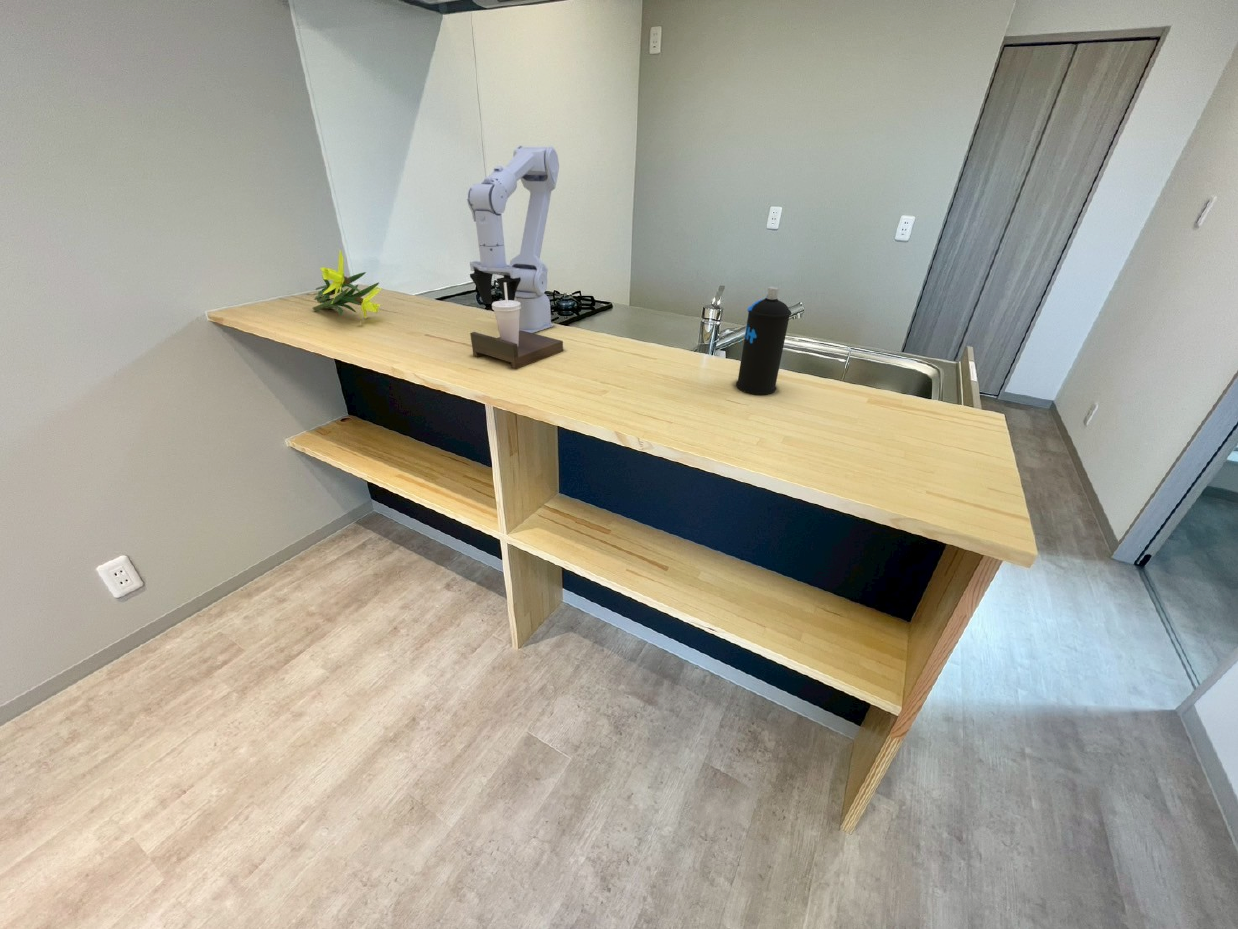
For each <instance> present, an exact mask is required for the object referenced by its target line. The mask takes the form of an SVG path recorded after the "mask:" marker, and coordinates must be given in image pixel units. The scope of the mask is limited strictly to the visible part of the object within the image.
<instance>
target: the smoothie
mask: <svg viewBox="0 0 1238 929" xmlns="http://www.w3.org/2000/svg"><path fill="white" fill-rule="evenodd" d="M504 291H505V300H503V299H502V300H497V301H494V302H491V309H492V310H493V311H494V318H495V321H496V326H497V329H498V330H497V331H498V333H499V337H500V338H501V339H502V340H505V341H509V342H513V343H516V344H517V347H518V343H519V316H520V309H521V303H520V302H518V301H513V300H508V296H507V285H506V282H504Z"/></svg>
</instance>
